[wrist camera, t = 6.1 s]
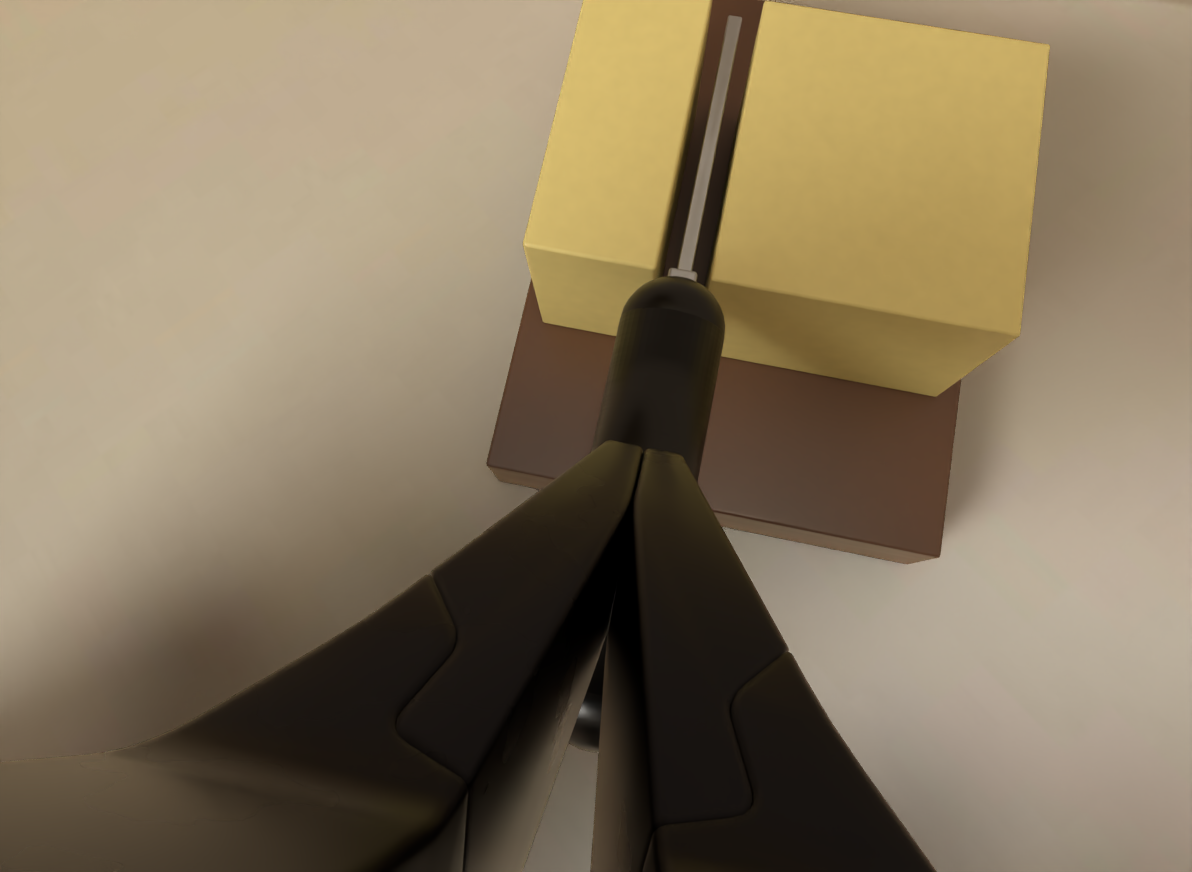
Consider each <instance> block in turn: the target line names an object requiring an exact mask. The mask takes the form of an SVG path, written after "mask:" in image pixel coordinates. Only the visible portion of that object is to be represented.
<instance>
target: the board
mask: <svg viewBox="0 0 1192 872" xmlns="http://www.w3.org/2000/svg"><path fill="white" fill-rule="evenodd" d="M764 2H765V1H762V0H712V7H711V14H710V21H709V28H708V35H707V42H706V49H705V56H704V62H703V69H702V76H701V83H700V90H699V97H698V104H697V111H696V117H695V121H694V126H693V131H692V136H691V141H690V146H689V151H688V155H687V160H686V165H685V170H684V175H683V180H682V184H681V189H680V194H679V199H678V204H677V209H676V213H675V218H674V223H673V228H672V233H671V238H670V242H669V247H668V252H667V257H666V262H665V267H664V272H663V276H662V277H665V276H668V272H669V269H670V268H677V265H678V260H679V255H680V250H681V245H682V241H683V236H684V231H685V226H686V221H687V216H688V211H689V206H690V201H691V196H692V191H693V186H694V181H695V176H696V172H697V167H698V162H699V157H700V152H701V147H702V142H703V137H704V132H705V127H706V122H707V117H708V112H709V108H710V103H711V98H712V93H713V88H714V83H715V78H716V73H717V68H718V63H719V58H720V53H721V48H722V43H723V39H724V34H725V29H726V24H727V19H728V16H729V15H731V16H737V17H742V23H741V28H740V33H739V38H738V43H737V49H736V54H735V59H734V64H733V69H732V74H731V79H730V84H729V89H728V94H727V99H726V104H725V109H724V114H723V119H722V124H721V129H720V134H719V139H718V144H717V149H716V154H715V159H714V164H713V169H712V174H711V180H710V185H709V190H708V195H707V200H706V205H705V210H704V215H703V220H702V225H701V230H700V235H699V240H698V245H697V250H696V255H695V260H694V265H693V270H692V271H694V272H696V273H697V280H696V282H698V283H700V284H702V285H703V286H704V287H705V283H706V278H707V272H708V267H709V262H710V257H711V252H712V247H713V242H714V236H715V231H716V226H717V221H718V216H719V211H720V205H721V200H722V195H723V190H724V185H725V180H726V175H727V169H728V164H729V159H730V154H731V149H732V144H733V139H734V133H735V128H736V123H737V118H738V114H739V110H740V105H741V101H742V96H743V92H744V88H745V83H746V79H747V75H748V70H749V66H750V61H751V57H752V53H753V48H754V44H755V39H756V35H757V31H758V26H759V22H760V18H761V13H762V9H763V4H764ZM615 339H616V336H612V335H607V334H602V333H596V332H591V331H586V330H580V329H575V328H570V327H565V326H559V325H554V324H549V323H544V322H543V321H542V317H541V313H540V309H539V305H538V301H537V297H536V293H535V290H534V286H533V282H532V278H531V282H530V286H529V290H528V294H527V298H526V302H525V306H524V311H523V315H522V319H521V323H520V327H519V331H518V335H517V339H516V343H515V347H514V352H513V356H512V360H511V364H510V368H509V372H508V376H507V380H506V384H505V389H504V393H503V397H502V401H501V405H500V409H499V413H498V417H497V421H496V425H495V430H494V434H493V438H492V442H491V446H490V450H489V454H488V458H487V462H486V464H487V466H488V468H489V469H490V470H491V471H492V472H493V474H494V475H495V476H496V477H497V478H498V480H500V481H502V482H507V483H512V484H517V485H522V486H527V487H532V488H537V489H542V488H544V487H545V486H546V485H548V484H549V483H551V482H552V481H553V480H555V479H556V478H557V477H559V476H560V475H561V474H563V473H564V472H565V471H567V470H568V469H569V468H571V467H572V466H573V465H575V464H576V463H577V462H579V461H580V460H581V459H583V458H584V457H585V456H587V455H588V454H589V453H591V450H592V446H593V441H594V436H595V432H596V427H597V423H598V418H599V413H600V409H601V404H602V399H603V395H604V390H605V386H606V381H607V376H608V372H609V367H610V362H611V358H612V353H613V348H614V344H615ZM960 384H961V379H960V380H959V381H957V382H956V383H954V384H953V385H952V386H950V387H949V388H948V389H946V390H945V391H944V392H942V393H941V394H939V395H938V396H936V397H934V396H929V395H923V394H918V393H913V392H907V391H902V390H897V389H891V388H886V387H881V386H876V385H870V384H865V383H860V382H854V381H849V380H844V379H839V378H833V377H828V376H823V375H817V374H812V373H807V372H802V371H796V370H791V369H786V368H780V367H775V366H770V365H765V364H759V363H754V362H749V361H743V360H738V359H733V358H727V357H722V356H721V359H720V364H719V370H718V375H717V381H716V386H715V391H714V397H713V402H712V407H711V413H710V418H709V424H708V429H707V434H706V440H705V445H704V450H703V456H702V461H701V467H700V472H699V477H698V485H699V487H700V489H701V491H702V492H703V494H704V496H705V498H706V500H707V501H708V503H709V505H710V507H711V509H712V511H713V512H714V514H715V516H716V518H717V520H718V521H719V523H720V525H721V526H722V527H727V528H732V529H737V530H742V531H747V532H752V533H757V534H762V535H766V536H771V537H776V538H781V539H786V540H791V541H796V542H801V543H806V544H810V545H815V546H820V547H825V548H830V549H835V550H840V551H845V552H850V553H855V554H859V555H864V556H869V557H874V558H879V559H884V560H889V561H894V562H899V563H903V564H911V563H916V562H920V561H925V560H929V559H934V558H938V557H940V553H941V544H942V536H943V528H944V519H945V511H946V502H947V494H948V485H949V477H950V469H951V460H952V452H953V443H954V435H955V427H956V418H957V410H958V401H959V393H960Z"/></svg>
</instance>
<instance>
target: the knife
mask: <svg viewBox="0 0 1192 872" xmlns="http://www.w3.org/2000/svg"><path fill="white" fill-rule="evenodd" d="M741 23H742V17H737V16H731V15H729V16H728V19H727V24H726V29H725V34H724V39H723V43H722V48H721V53H720V58H719V63H718V68H717V73H716V78H715V83H714V88H713V93H712V98H711V103H710V108H709V112H708V117H707V122H706V127H705V132H704V137H703V142H702V147H701V152H700V157H699V162H698V167H697V172H696V176H695V181H694V186H693V191H692V196H691V201H690V206H689V211H688V216H687V221H686V226H685V231H684V236H683V241H682V245H681V250H680V255H679V260H678V265H677V268H670V269H669V272H668V276H665V277H659V278H656V279H654V280H651V281H649V282H647V283H645V284H644V285H642V286H641V287H639V288H638V289H637V290H636V291H635V292H634V293H633V294H632V296H631V297H630V298H629V299H628V301H627V302H626V304H625V306H624V308H623V311H622V314H621V317H620V321H619V325H618V330H617V335H616V339H615V344H614V348H613V353H612V358H611V362H610V367H609V372H608V376H607V381H606V386H605V390H604V395H603V399H602V404H601V409H600V413H599V418H598V423H597V427H596V432H595V436H594V441H593V446H592V450H591V452H592V451H594V450H595V449H596V448H598V447H599V446H600V445H602V444H603V443H604V442H606V441H609V440H613V441H618V442H623V443H628V444H633V445H638V446H640V447H641V448H642V450H643V454H644V451H645V450H646V449H649V448H653V449H658V450H664V451H669V452H674V453H678V454H680V455H681V456H682V457H683V458H684V460H685V462H686V463H687V465H688V467H689V469H690V471H691V472H692V474H693V476H694V478H695V480H696V482H697V483H698V477H699V472H700V467H701V461H702V456H703V450H704V445H705V440H706V434H707V429H708V424H709V418H710V413H711V407H712V402H713V397H714V391H715V386H716V381H717V375H718V370H719V364H720V359H721V354H722V348H723V343H724V335H725V321H724V315H723V313H722V310H721V307H720V305H719V303H718V301H717V300H716V298H715V297H714V295H713V294H712V293H711V292H710V291H709V290H708V289H707V288H706V287H704V286H703V285H702V284H700V283H698V282H696V280H697V273H696V272H694V271H692V270H693V265H694V260H695V255H696V250H697V245H698V240H699V235H700V230H701V225H702V220H703V215H704V210H705V205H706V200H707V195H708V190H709V185H710V180H711V174H712V169H713V164H714V159H715V154H716V149H717V144H718V139H719V134H720V129H721V124H722V119H723V114H724V109H725V104H726V99H727V94H728V89H729V84H730V79H731V74H732V69H733V64H734V59H735V54H736V49H737V43H738V38H739V33H740V28H741ZM642 458H643V457H642ZM613 603H614V602H613ZM612 608H613V606H612ZM611 613H612V611H611ZM610 618H611V616H610ZM609 624H610V620H609ZM609 624H608V629H607V633H606V637H605V640H604V643H603V646H602V649H601V652H600V656H599V658H598V661H597V664H596V667H595V670H594V672H593V675H592V678H591V681H590V684H589V686H588V689H587V692H586V695H585V698H584V700H583V703H582V706H581V709H580V712H579V714H578V717H577V720H576V723H575V726H574V728H573V731H572V734H571V737H570V740H569V742H568V743H569V744H571V745H573V746H575V747H576V748H578V749H581V750H585V751H589V752H599V739H600V725H601V710H602V696H603V681H604V667H605V654H606V644H607V636H608V630H609Z"/></svg>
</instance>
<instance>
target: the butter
mask: <svg viewBox="0 0 1192 872" xmlns="http://www.w3.org/2000/svg"><path fill="white" fill-rule="evenodd" d="M711 7H712V0H583V3H582V7H581V11H580V15H579V19H578V23H577V28H576V32H575V36H574V40H573V44H572V48H571V52H570V56H569V60H568V64H567V68H566V72H565V76H564V80H563V84H562V88H561V92H560V96H559V100H558V104H557V108H556V112H555V116H554V120H553V124H552V128H551V132H550V136H549V140H548V144H547V148H546V152H545V156H544V160H543V164H542V168H541V172H540V176H539V181H538V185H537V189H536V193H535V197H534V201H533V205H532V209H531V213H530V217H529V221H528V225H527V229H526V233H525V237H524V241H523V247H524V251H525V254H526V258H527V262H528V266H529V270H530V274H531V278H532V282H533V286H534V290H535V293H536V297H537V301H538V305H539V309H540V313H541V317H542V321H543V322H544V323H549V324H554V325H559V326H565V327H570V328H575V329H580V330H586V331H591V332H596V333H602V334H607V335H612V336H616V335H617V330H618V325H619V321H620V317H621V314H622V311H623V308H624V306H625V304H626V302H627V301H628V299H629V298H630V297H631V296H632V294H633V293H634V292H635V291H636V290H637V289H638V288H639V287H641V286H642V285H644V284H645V283H647V282H649V281H651V280H654V279H656V278H659V277H662V276H663V272H664V267H665V262H666V257H667V252H668V247H669V242H670V238H671V233H672V228H673V223H674V218H675V213H676V209H677V204H678V199H679V194H680V189H681V184H682V180H683V175H684V170H685V165H686V160H687V155H688V151H689V146H690V141H691V136H692V131H693V126H694V121H695V117H696V111H697V104H698V97H699V90H700V83H701V76H702V69H703V62H704V56H705V49H706V42H707V35H708V28H709V21H710V14H711ZM1049 51H1050V45H1048V44H1042V43H1035V42H1029V41H1023V40H1016V39H1010V38H1003V37H997V36H990V35H984V34H978V33H971V32H965V31H958V30H952V29H946V28H939V27H933V26H926V25H920V24H914V23H907V22H901V21H894V20H888V19H882V18H875V17H869V16H862V15H856V14H849V13H843V12H837V11H830V10H824V9H817V8H811V7H805V6H798V5H792V4H785V3H779V2H773V1H765V2H764V4H763V9H762V13H761V18H760V22H759V26H758V31H757V35H756V39H755V44H754V48H753V53H752V57H751V61H750V66H749V70H748V75H747V79H746V83H745V88H744V92H743V96H742V101H741V105H740V110H739V114H738V118H737V123H736V128H735V133H734V139H733V144H732V149H731V154H730V159H729V164H728V169H727V175H726V180H725V185H724V190H723V195H722V200H721V205H720V211H719V216H718V221H717V226H716V231H715V236H714V242H713V247H712V252H711V257H710V262H709V267H708V272H707V278H706V283H705V287H706V288H707V289H708V290H709V291H710V292H711V293H712V294H713V295H714V297H715V298H716V300H717V301H718V303H719V305H720V307H721V310H722V313H723V315H724V321H725V335H724V343H723V348H722V354H721V356H722V357H727V358H733V359H738V360H743V361H749V362H754V363H759V364H765V365H770V366H775V367H780V368H786V369H791V370H796V371H802V372H807V373H812V374H817V375H823V376H828V377H833V378H839V379H844V380H849V381H854V382H860V383H865V384H870V385H876V386H881V387H886V388H891V389H897V390H902V391H907V392H913V393H918V394H923V395H929V396H934V397H936V396H938V395H939V394H941V393H942V392H944V391H945V390H946V389H948V388H949V387H950V386H952V385H953V384H954V383H956V382H957V381H959V380H960V379H961V378H963V377H964V376H965V375H967V374H968V373H969V372H971V371H972V370H974V369H975V368H976V367H978V366H979V365H980V364H982V363H983V362H984V361H986V360H987V359H989V358H990V357H991V356H993V355H994V354H995V353H997V352H998V351H999V350H1001V349H1002V348H1004V347H1005V346H1006V345H1008V344H1009V343H1010V342H1012V341H1013V340H1014V339H1016V338H1017V337H1019V335H1020V330H1021V320H1022V311H1023V301H1024V291H1025V282H1026V272H1027V263H1028V253H1029V243H1030V234H1031V224H1032V214H1033V205H1034V195H1035V185H1036V176H1037V166H1038V157H1039V147H1040V137H1041V128H1042V118H1043V108H1044V99H1045V89H1046V80H1047V70H1048V60H1049Z"/></svg>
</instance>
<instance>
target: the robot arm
mask: <svg viewBox="0 0 1192 872" xmlns="http://www.w3.org/2000/svg"><path fill="white" fill-rule="evenodd" d="M642 457H643V458H642ZM613 602H614V603H613ZM612 606H613V608H612ZM611 611H612V613H611ZM610 616H611V618H610ZM609 620H610V624H609ZM608 624H609V630H608V636H607V644H606V654H605V667H604V681H603V696H602V710H601V725H600V739H599V754H598V768H597V782H596V797H595V811H594V826H593V840H592V855H591V869H590V872H937V871H936V870H935V868H934V867H933V866H932V864H931V863H930V861H929V860H928V859H927V857H926V856H925V855H924V853H923V852H922V850H921V849H920V848H919V846H918V845H917V843H916V842H915V841H914V839H913V838H912V836H911V835H910V834H909V832H908V831H907V829H906V828H905V827H904V825H903V824H902V822H901V821H900V820H899V818H898V817H897V816H896V814H895V813H894V811H893V810H892V809H891V807H890V806H889V804H888V803H887V802H886V800H885V799H884V797H883V796H882V795H881V793H880V792H879V790H878V789H877V788H876V786H875V785H874V783H873V782H872V781H871V779H870V778H869V777H868V775H867V774H866V772H865V771H864V769H863V768H862V767H861V765H860V764H859V762H858V761H857V759H856V758H855V756H854V755H853V753H852V752H851V750H850V749H849V747H848V746H847V744H846V743H845V741H844V740H843V739H842V737H841V736H840V734H839V733H838V731H837V730H836V728H835V727H834V725H833V724H832V722H831V721H830V719H829V717H828V716H827V714H826V712H825V711H824V709H823V707H822V706H821V704H820V702H819V701H818V699H817V697H816V695H815V694H814V692H813V690H812V689H811V687H810V685H809V684H808V682H807V680H806V679H805V677H804V675H803V673H802V671H801V670H800V668H799V666H798V664H797V662H796V660H795V658H794V657H793V655H792V654H791V653H789V652H788V646H787V645H786V643H785V641H784V639H783V637H782V636H781V634H780V632H779V630H778V628H777V626H776V625H775V623H774V621H773V619H772V617H771V616H770V614H769V612H768V610H767V608H766V607H765V605H764V603H763V601H762V599H761V597H760V596H759V594H758V592H757V590H756V588H755V587H754V585H753V583H752V581H751V579H750V578H749V576H748V574H747V572H746V570H745V569H744V567H743V565H742V563H741V561H740V559H739V558H738V556H737V554H736V552H735V550H734V549H733V547H732V545H731V543H730V541H729V540H728V538H727V536H726V534H725V532H724V530H723V529H722V527H721V525H720V523H719V521H718V520H717V518H716V516H715V514H714V512H713V511H712V509H711V507H710V505H709V503H708V501H707V500H706V498H705V496H704V494H703V492H702V491H701V489H700V487H699V485H698V483H697V482H696V480H695V478H694V476H693V474H692V472H691V471H690V469H689V467H688V465H687V463H686V462H685V460H684V458H683V457H682V456H681V455H680V454H678V453H674V452H669V451H664V450H658V449H653V448H649V449H646V450H645V451H644V454H643V450H642V448H641V447H640V446H638V445H633V444H628V443H623V442H618V441H613V440H609V441H606V442H604V443H603V444H602V445H600V446H599V447H598V448H596V449H595V450H594V451H592V452H591V453H589V454H588V455H587V456H585V457H584V458H583V459H581V460H580V461H579V462H577V463H576V464H575V465H573V466H572V467H571V468H569V469H568V470H567V471H565V472H564V473H563V474H561V475H560V476H559V477H557V478H556V479H555V480H553V481H552V482H551V483H549V484H548V485H546V486H545V487H544V488H542V489H541V490H540V491H538V492H537V493H536V494H534V495H533V496H532V497H530V498H529V499H528V500H526V501H525V502H524V503H522V504H521V505H520V506H518V507H517V508H516V509H514V510H513V511H512V512H510V513H509V514H507V515H506V516H505V517H503V518H502V519H501V520H499V521H498V522H497V523H495V524H494V525H493V526H491V527H490V528H489V529H487V530H486V531H485V532H483V533H482V534H481V535H479V536H478V537H477V538H475V539H474V540H473V541H471V542H470V543H468V544H467V545H466V546H464V547H463V548H462V549H460V550H459V551H458V552H456V553H455V554H454V555H452V556H451V557H450V558H448V559H447V560H446V561H444V562H443V563H442V564H440V565H439V566H438V567H436V568H435V569H434V570H432V571H431V573H430V575H425V576H424V577H422V578H421V579H420V580H418V581H417V582H416V583H414V584H413V585H411V586H410V587H409V588H407V589H406V590H405V591H403V592H402V593H401V594H399V595H398V596H396V597H395V598H393V599H392V600H391V601H389V602H388V603H386V604H385V605H383V606H382V607H380V608H379V609H378V610H376V611H375V612H373V613H372V614H370V615H369V616H368V617H366V618H365V619H363V620H361V621H360V622H358V623H357V624H355V625H353V626H352V627H350V628H348V629H347V630H345V631H344V632H342V633H340V634H339V635H337V636H335V637H334V638H332V639H330V640H329V641H327V642H326V643H324V644H322V645H321V646H319V647H317V648H316V649H314V650H312V651H311V652H309V653H307V654H305V655H304V656H302V657H300V658H298V659H297V660H295V661H293V662H291V663H290V664H288V665H286V666H285V667H283V668H281V669H279V670H278V671H276V672H274V673H272V674H271V675H269V676H267V677H266V678H264V679H262V680H260V681H259V682H257V683H255V684H253V685H252V686H250V687H248V688H246V689H245V690H243V691H241V692H240V693H238V694H236V695H234V696H233V697H231V698H229V699H227V700H226V701H224V702H222V703H220V704H219V705H217V706H215V707H214V708H212V709H210V710H208V711H207V712H205V713H203V714H201V715H200V716H198V717H196V718H194V719H192V720H190V721H189V722H187V723H185V724H183V725H181V726H179V727H177V728H175V729H173V730H171V731H169V732H166V733H164V734H162V735H159V736H157V737H155V738H153V739H150V740H147V741H144V742H141V743H138V744H135V745H132V746H129V747H125V748H121V749H116V750H112V751H107V752H101V753H93V754H84V755H73V756H62V757H51V758H40V759H29V760H18V761H7V762H0V872H522V871H523V869H524V866H525V863H526V860H527V857H528V855H529V852H530V849H531V846H532V843H533V841H534V838H535V835H536V832H537V829H538V827H539V824H540V821H541V818H542V815H543V813H544V810H545V807H546V804H547V801H548V799H549V796H550V793H551V790H552V787H553V785H554V782H555V779H556V776H557V773H558V771H559V768H560V765H561V762H562V759H563V756H564V754H565V751H566V748H567V745H568V742H569V740H570V737H571V734H572V731H573V728H574V726H575V723H576V720H577V717H578V714H579V712H580V709H581V706H582V703H583V700H584V698H585V695H586V692H587V689H588V686H589V684H590V681H591V678H592V675H593V672H594V670H595V667H596V664H597V661H598V658H599V656H600V652H601V649H602V646H603V643H604V640H605V637H606V633H607V629H608Z"/></svg>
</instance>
